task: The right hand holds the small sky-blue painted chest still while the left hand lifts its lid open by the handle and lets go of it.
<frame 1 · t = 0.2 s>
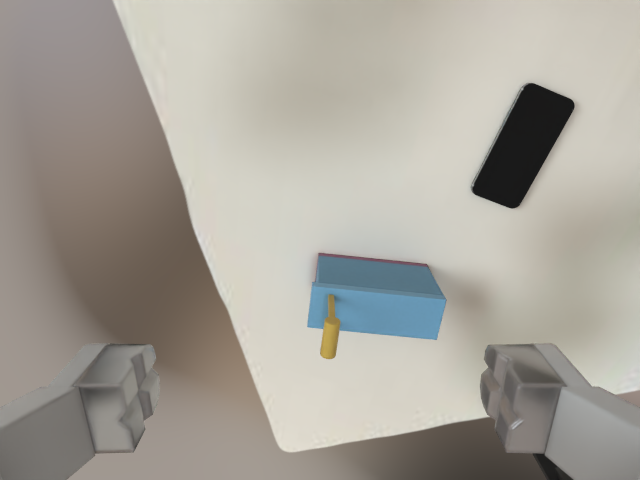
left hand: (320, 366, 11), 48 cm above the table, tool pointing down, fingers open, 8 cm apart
chest: (369, 276, 63), on the table
lid: (379, 326, 50), point 13 cm above the table, hinge at 0.0°
smartphone: (518, 148, 56), on the table
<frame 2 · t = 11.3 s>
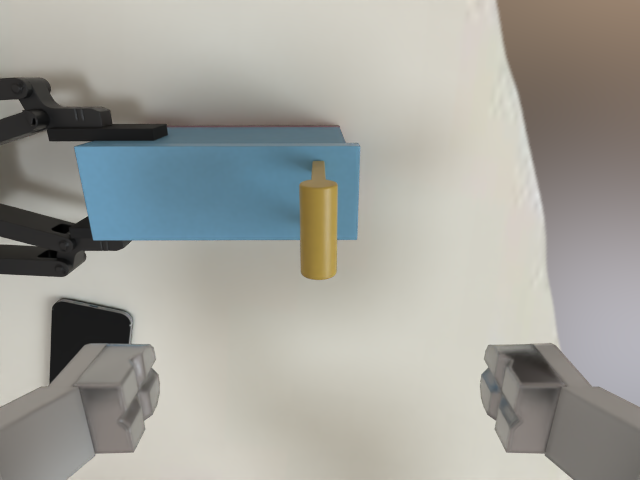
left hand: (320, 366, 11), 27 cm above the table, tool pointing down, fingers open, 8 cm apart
chest: (243, 161, 35), on the table, touching right hand
lid: (209, 209, 23), point 13 cm above the table, hinge at 0.0°
smartphone: (91, 367, 43), on the table
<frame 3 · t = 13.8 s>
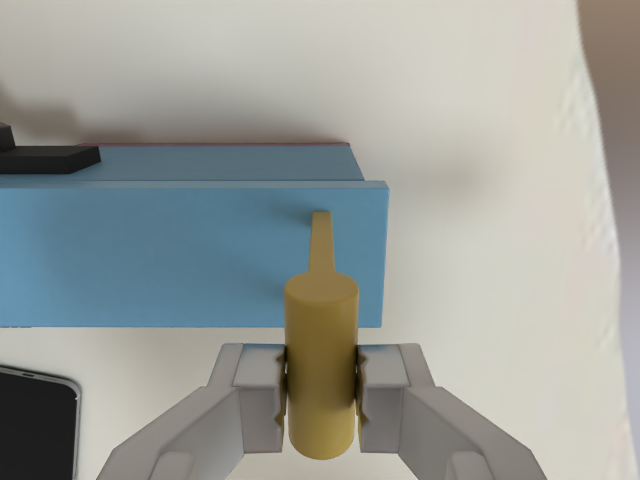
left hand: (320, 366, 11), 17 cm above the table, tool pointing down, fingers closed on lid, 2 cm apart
chest: (219, 191, 26), on the table, touching right hand
lid: (138, 300, 14), point 14 cm above the table, hinge at 0.6°, touching left hand
smartphone: (31, 446, 34), on the table
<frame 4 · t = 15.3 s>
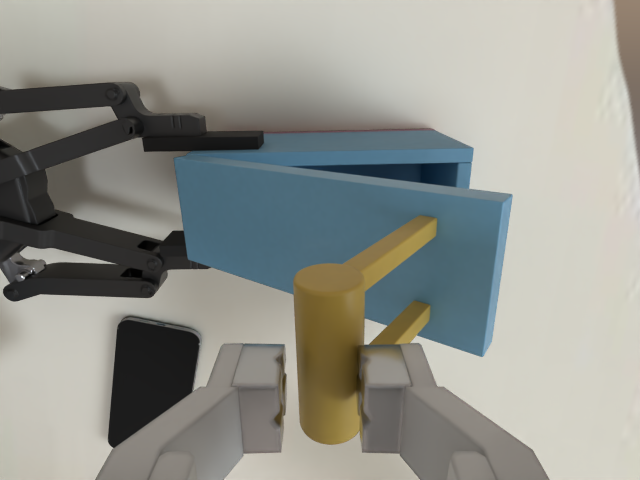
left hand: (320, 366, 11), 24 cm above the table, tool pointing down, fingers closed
right hand: (263, 193, 27), fingers closed on chest, 6 cm apart
chest: (327, 169, 33), on the table, touching right hand
lid: (253, 261, 17), point 18 cm above the table, hinge at 35.6°, touching left hand
smartphone: (154, 388, 40), on the table
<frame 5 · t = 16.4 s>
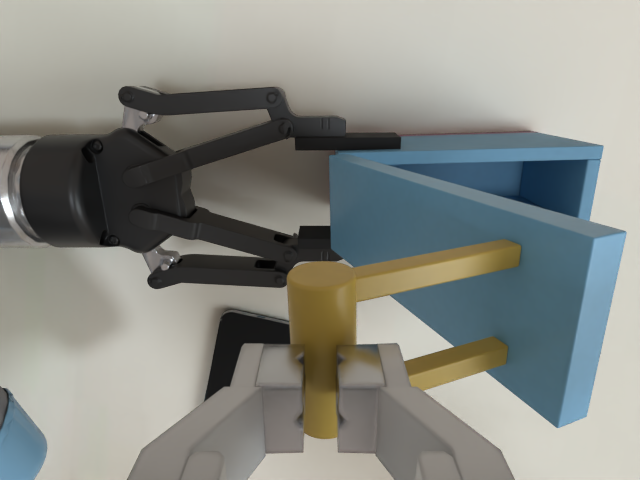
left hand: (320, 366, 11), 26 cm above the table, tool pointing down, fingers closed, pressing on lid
right hand: (394, 190, 29), fingers closed on chest, 6 cm apart
chest: (431, 170, 35), on the table, touching right hand
lid: (343, 256, 18), point 19 cm above the table, hinge at 67.3°, touching left hand
smartphone: (247, 378, 42), on the table
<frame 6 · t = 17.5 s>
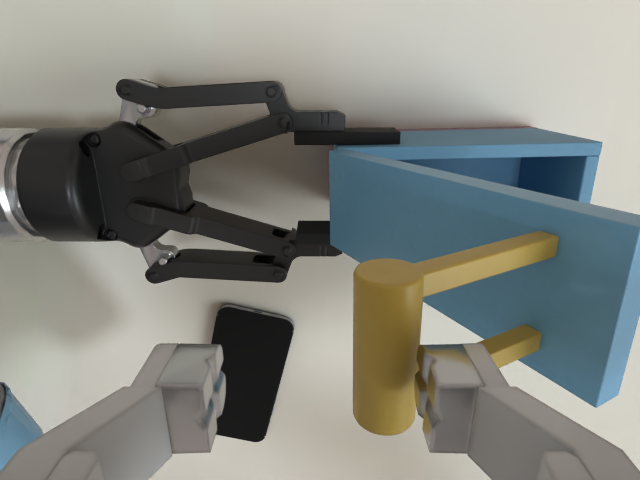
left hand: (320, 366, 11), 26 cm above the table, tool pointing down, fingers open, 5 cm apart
right hand: (393, 185, 29), fingers closed on chest, 6 cm apart
chest: (429, 165, 35), on the table, touching right hand
lid: (365, 252, 18), point 19 cm above the table, hinge at 61.5°
smartphone: (244, 373, 42), on the table
when the right hand's fingers open (7 cm above the table, at t = 20.4 s): chest stays where it is, on the table.
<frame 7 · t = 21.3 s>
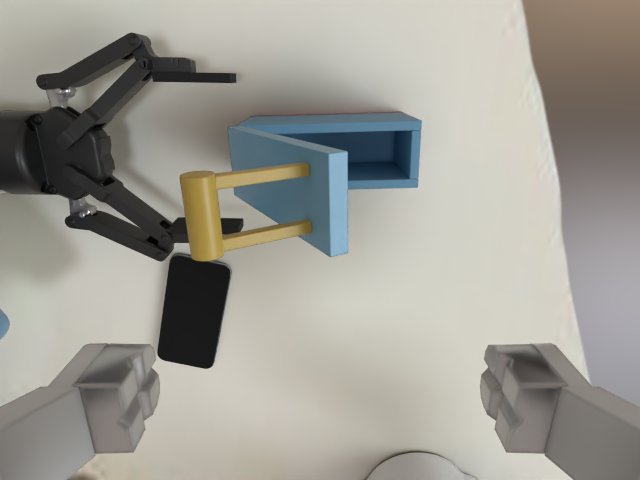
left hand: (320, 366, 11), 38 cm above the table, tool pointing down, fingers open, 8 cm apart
right hand: (237, 156, 40), fingers open, 13 cm apart
chest: (327, 142, 46), on the table
lid: (228, 185, 28), point 19 cm above the table, hinge at 60.6°
smartphone: (194, 311, 53), on the table
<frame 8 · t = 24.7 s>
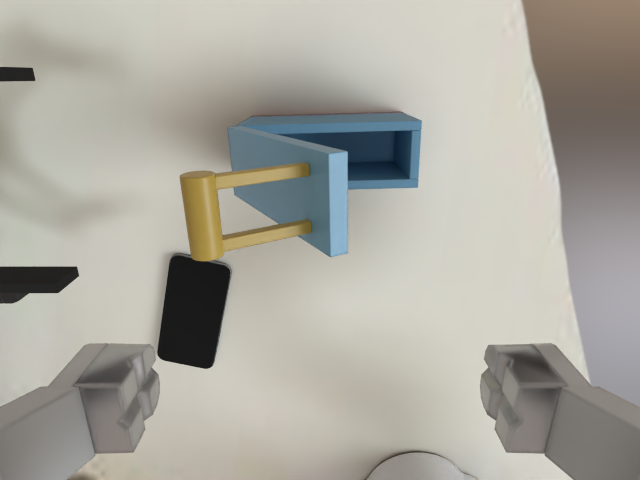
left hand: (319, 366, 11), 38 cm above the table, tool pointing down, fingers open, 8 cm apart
chest: (327, 142, 46), on the table
lid: (228, 185, 28), point 19 cm above the table, hinge at 60.6°
smartphone: (194, 311, 53), on the table
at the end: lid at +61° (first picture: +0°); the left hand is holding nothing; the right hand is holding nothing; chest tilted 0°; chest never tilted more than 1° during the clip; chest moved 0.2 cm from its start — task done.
